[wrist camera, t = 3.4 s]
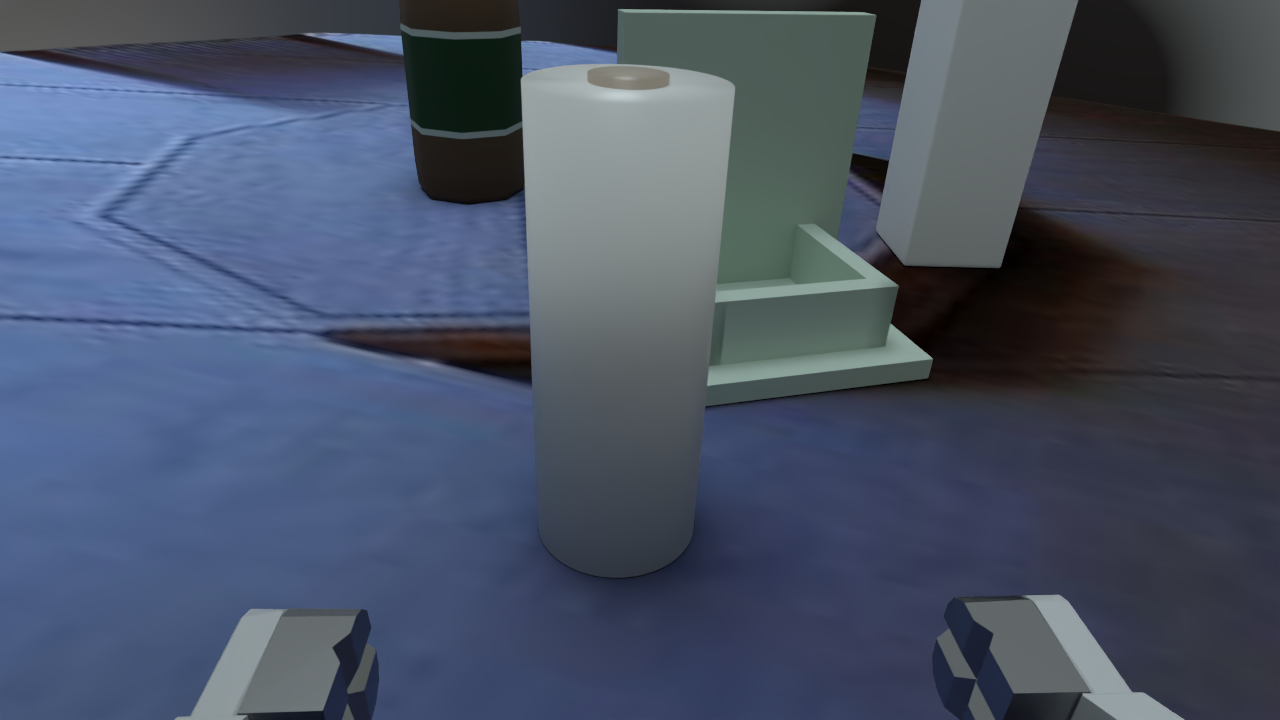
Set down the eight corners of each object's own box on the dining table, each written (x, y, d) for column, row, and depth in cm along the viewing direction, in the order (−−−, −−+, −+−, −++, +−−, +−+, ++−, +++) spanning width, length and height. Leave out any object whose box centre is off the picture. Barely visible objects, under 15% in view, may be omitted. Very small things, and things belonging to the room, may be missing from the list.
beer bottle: (548, 188, 57) (539, -215, 45) (464, 212, 51) (429, -237, 40) (479, 166, 61) (453, -207, 49) (395, 187, 56) (344, -226, 44)
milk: (962, 234, 52) (1066, -161, 41) (1001, 270, 46) (1133, -174, 35) (872, 231, 51) (953, -168, 40) (901, 267, 46) (1004, -182, 35)
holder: (674, 410, 32) (700, 45, 25) (606, 290, 42) (611, 6, 35) (928, 378, 35) (1014, 45, 28) (807, 273, 45) (849, 9, 38)
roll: (517, 564, 24) (490, 85, 17) (559, 463, 28) (552, 51, 21) (684, 589, 23) (728, 101, 16) (700, 481, 28) (741, 63, 21)
